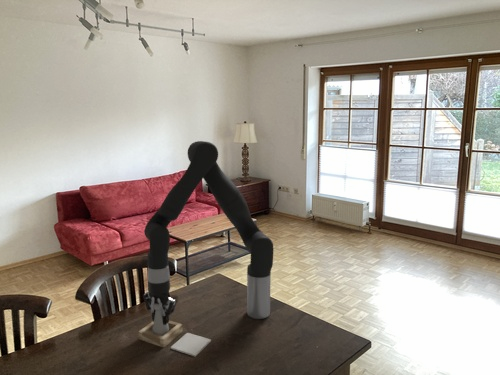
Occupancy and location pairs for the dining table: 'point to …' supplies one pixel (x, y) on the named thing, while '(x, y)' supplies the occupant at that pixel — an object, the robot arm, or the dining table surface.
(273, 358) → the dining table surface
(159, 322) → the salt shaker
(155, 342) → the oak collar
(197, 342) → the felt pad
